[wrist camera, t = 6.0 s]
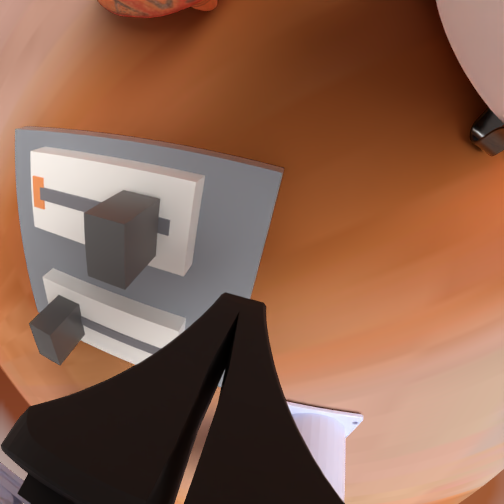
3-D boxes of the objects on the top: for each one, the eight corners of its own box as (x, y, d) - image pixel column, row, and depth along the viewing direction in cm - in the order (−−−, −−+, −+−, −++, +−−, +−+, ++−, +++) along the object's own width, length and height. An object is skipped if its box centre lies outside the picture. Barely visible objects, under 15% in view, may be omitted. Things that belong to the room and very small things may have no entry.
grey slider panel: (228, 376, 22) (209, 441, 17) (45, 304, 23) (6, 343, 18) (284, 168, 14) (270, 205, 9) (27, 126, 15) (-39, 145, 10)
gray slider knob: (155, 255, 15) (125, 289, 12) (122, 245, 15) (87, 275, 12) (160, 198, 13) (124, 224, 10) (123, 190, 13) (83, 212, 10)
